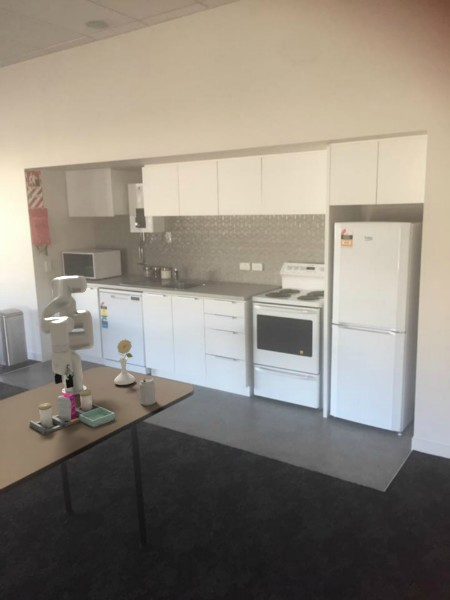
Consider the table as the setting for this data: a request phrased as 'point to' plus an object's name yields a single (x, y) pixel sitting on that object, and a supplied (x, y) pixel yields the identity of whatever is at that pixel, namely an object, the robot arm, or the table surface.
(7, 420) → the table surface
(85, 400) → the cylinder
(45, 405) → the fuse
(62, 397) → the supplement box
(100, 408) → the tray
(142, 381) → the can
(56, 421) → the clip holder
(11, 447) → the table surface
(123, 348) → the flower in vase
